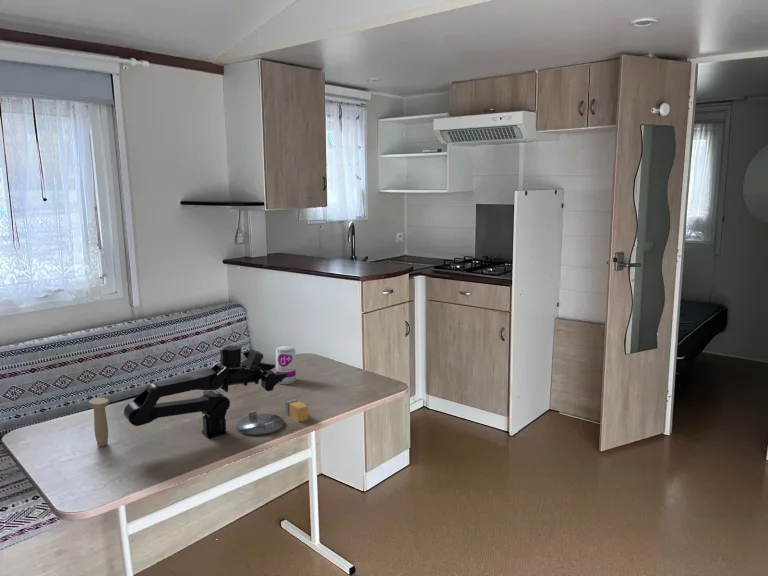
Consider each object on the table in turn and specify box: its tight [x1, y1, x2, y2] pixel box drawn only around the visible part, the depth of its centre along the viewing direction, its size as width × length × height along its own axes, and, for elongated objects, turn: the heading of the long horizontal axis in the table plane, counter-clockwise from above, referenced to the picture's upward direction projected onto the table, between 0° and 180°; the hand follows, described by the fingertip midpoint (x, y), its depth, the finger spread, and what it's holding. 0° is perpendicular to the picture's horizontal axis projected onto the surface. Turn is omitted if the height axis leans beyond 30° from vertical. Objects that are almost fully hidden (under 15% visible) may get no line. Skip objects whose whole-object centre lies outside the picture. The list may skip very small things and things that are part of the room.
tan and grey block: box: [284, 398, 309, 423], centre depth 213 cm, size 4×9×5 cm, turn 38°
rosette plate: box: [236, 409, 285, 437], centre depth 205 cm, size 16×16×3 cm
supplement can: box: [275, 344, 297, 385], centre depth 248 cm, size 8×8×15 cm
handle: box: [88, 397, 110, 447], centre depth 189 cm, size 5×6×15 cm
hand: (280, 370), depth 211 cm, fingers open, 9 cm apart
